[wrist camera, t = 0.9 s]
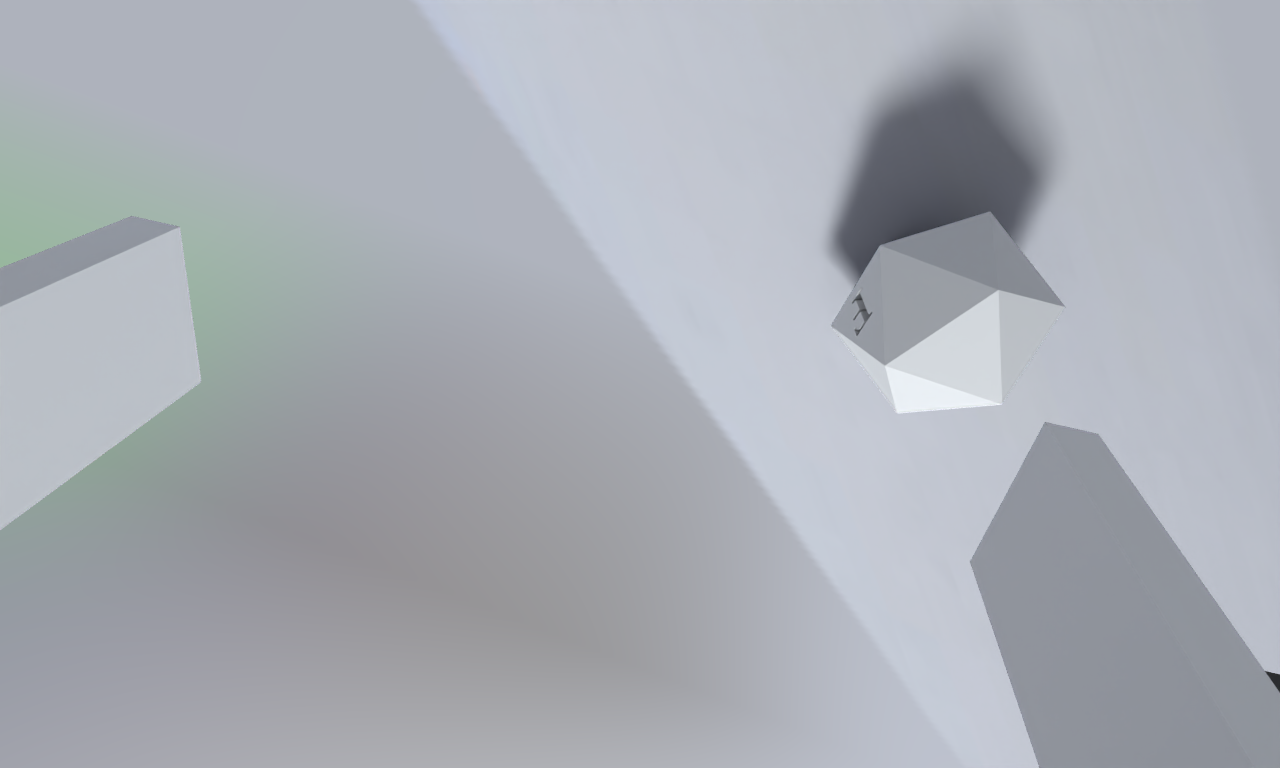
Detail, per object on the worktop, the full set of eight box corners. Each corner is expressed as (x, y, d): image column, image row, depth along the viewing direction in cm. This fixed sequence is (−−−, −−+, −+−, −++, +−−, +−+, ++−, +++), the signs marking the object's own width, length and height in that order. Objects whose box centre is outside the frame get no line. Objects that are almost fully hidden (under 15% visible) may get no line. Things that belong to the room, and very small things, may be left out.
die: (961, 153, 34) (844, 227, 29) (1131, 267, 32) (1037, 372, 26) (879, 281, 41) (771, 360, 35) (1015, 385, 38) (920, 489, 33)
